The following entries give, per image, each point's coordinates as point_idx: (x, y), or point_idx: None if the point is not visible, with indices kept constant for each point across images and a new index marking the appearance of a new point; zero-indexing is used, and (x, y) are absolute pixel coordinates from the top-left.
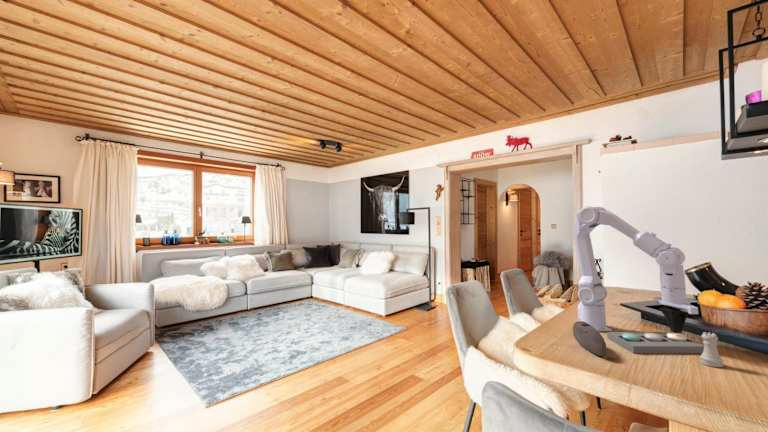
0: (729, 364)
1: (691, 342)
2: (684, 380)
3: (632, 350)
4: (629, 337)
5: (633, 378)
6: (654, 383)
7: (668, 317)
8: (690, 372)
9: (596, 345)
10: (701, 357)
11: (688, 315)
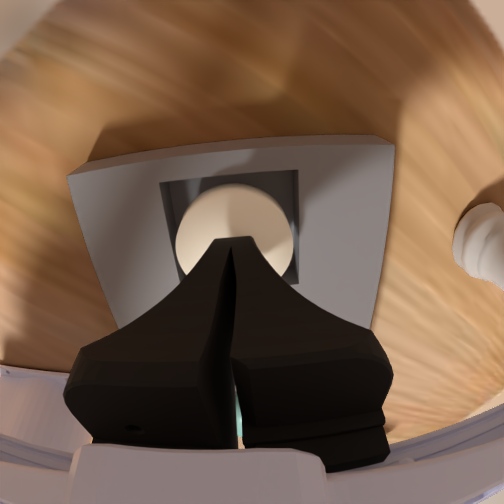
0: (488, 164)
1: (320, 196)
2: (497, 354)
3: None
4: None
5: (453, 416)
6: (479, 396)
7: (235, 401)
8: (485, 328)
9: None
10: (476, 277)
11: (349, 324)
